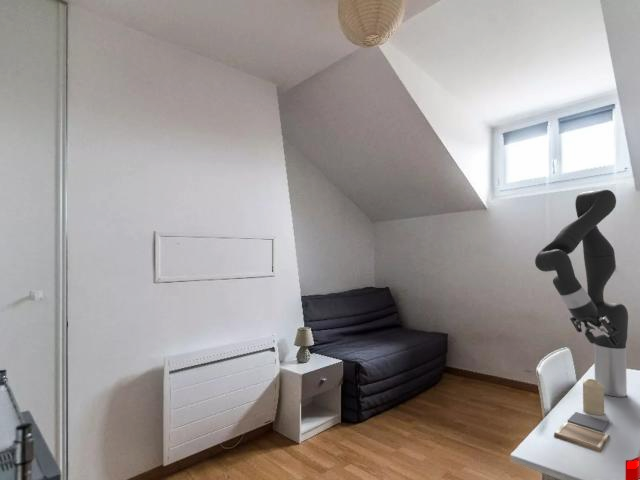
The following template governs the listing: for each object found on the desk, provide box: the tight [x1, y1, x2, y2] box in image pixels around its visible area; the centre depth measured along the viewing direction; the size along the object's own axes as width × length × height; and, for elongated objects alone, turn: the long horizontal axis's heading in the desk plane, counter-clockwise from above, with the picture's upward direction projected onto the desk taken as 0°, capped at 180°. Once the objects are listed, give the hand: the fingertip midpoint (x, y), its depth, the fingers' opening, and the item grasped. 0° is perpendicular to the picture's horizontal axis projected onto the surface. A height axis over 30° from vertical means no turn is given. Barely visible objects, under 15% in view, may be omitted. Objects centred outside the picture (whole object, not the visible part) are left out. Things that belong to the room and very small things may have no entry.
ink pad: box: [567, 411, 611, 433], centre depth 109 cm, size 9×9×1 cm
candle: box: [582, 378, 605, 416], centre depth 117 cm, size 6×6×10 cm
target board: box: [553, 421, 611, 453], centre depth 100 cm, size 11×10×1 cm
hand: (604, 343), depth 122 cm, fingers open, 8 cm apart
